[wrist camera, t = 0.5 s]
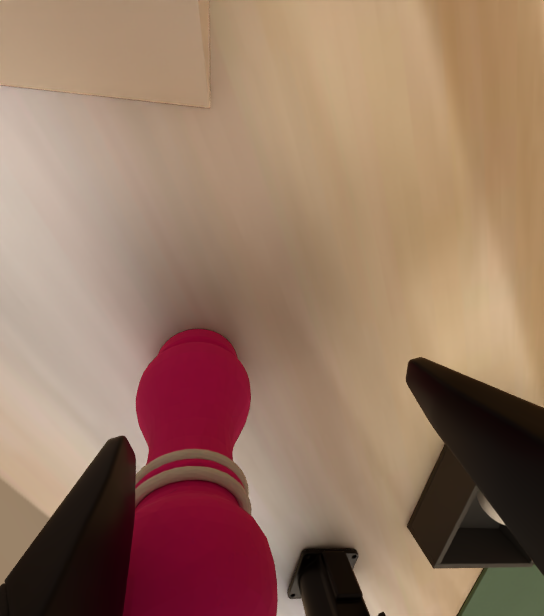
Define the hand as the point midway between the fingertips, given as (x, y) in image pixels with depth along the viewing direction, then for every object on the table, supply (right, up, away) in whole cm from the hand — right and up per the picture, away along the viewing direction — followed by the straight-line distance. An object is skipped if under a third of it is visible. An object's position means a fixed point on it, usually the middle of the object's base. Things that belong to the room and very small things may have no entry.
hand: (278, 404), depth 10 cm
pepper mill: (-6, -1, +15) cm, 16 cm away
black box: (+23, -16, +25) cm, 38 cm away
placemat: (+33, -40, +35) cm, 62 cm away
